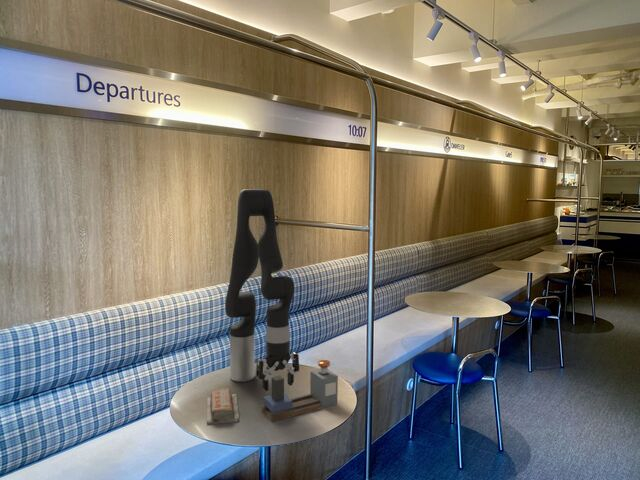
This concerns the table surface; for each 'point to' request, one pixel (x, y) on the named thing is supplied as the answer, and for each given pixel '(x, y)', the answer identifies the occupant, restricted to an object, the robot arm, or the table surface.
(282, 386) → the carriage
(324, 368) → the orange push button
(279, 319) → the robot arm
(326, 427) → the table surface
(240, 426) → the table surface
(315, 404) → the rail bed
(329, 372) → the end cabinet
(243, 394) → the table surface
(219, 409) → the packaged product
